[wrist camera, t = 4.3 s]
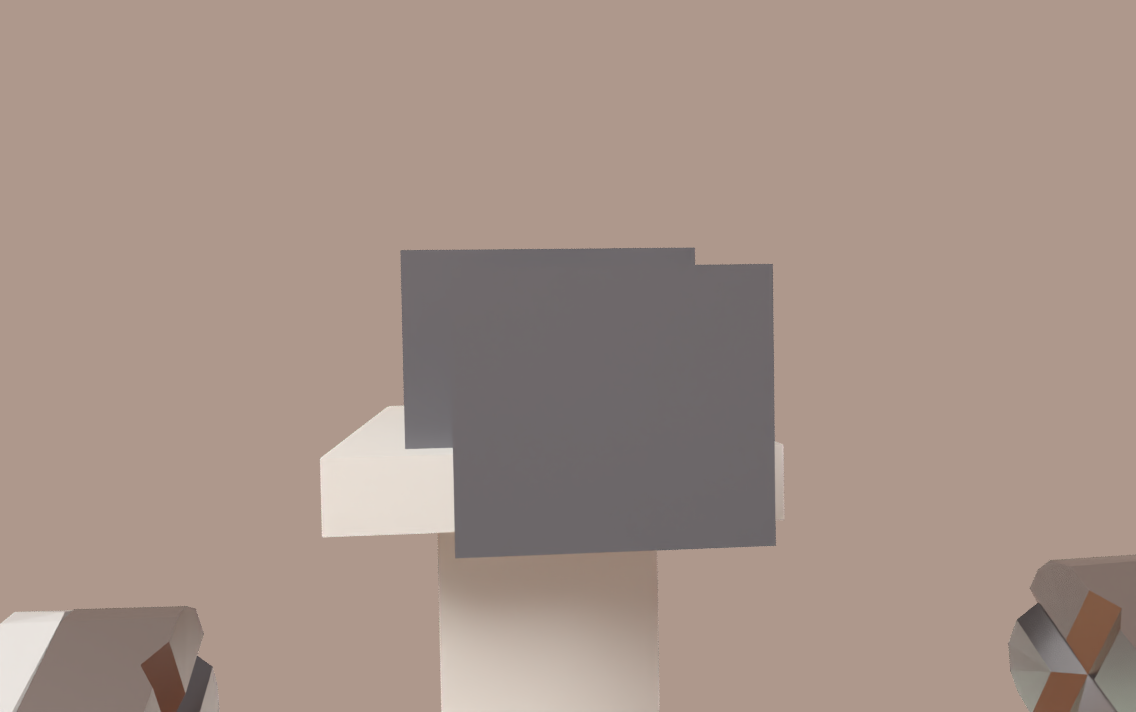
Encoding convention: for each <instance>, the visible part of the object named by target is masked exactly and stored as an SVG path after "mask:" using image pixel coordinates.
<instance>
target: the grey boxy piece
mask: <svg viewBox="0 0 1136 712" xmlns="http://www.w3.org/2000/svg"><path fill="white" fill-rule="evenodd" d="M401 287H402V289H401V290H402V331H403V333H402V334H403V375H404V376H403V379H404V423H405V449H428V448H453V478H454V526H455V558H478V557H503V556H528V555H553V554H578V553H603V552H628V551H653V550H676V549H677V550H678V549H703V548H728V547H751V546H775V545H776V537H775V536H776V531H775V530H776V527H775V437H774V346H773V345H774V342H773V264H742V265H741V264H738V265H695V248H622V249H621V248H619V249H618V248H612V249H505V250H504V249H503V250H502V249H499V250H401Z"/></svg>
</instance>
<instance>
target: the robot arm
mask: <svg viewBox="0 0 1136 712" xmlns="http://www.w3.org/2000/svg"><path fill="white" fill-rule="evenodd" d="M1030 589H1031V591H1032V593H1033V595H1034V597H1035V599H1036V601H1037V602H1038V603H1037V604H1036V605H1035V606H1033V607H1032V608H1031V609H1030V610H1028V611H1027V612H1026V613H1025V614H1023V615H1022V616H1021V617H1020V618H1018V619H1017V621H1016V624H1015V626H1014V629H1013V632H1012V635H1011V638H1010V641H1009V643H1008V645H1009V657H1010V658H1009V659H1010V671H1011V674H1012V676H1013V679H1014V682H1015V685H1016V688H1017V691H1018V693H1019V695H1020V696H1021V698H1022V700H1023V701H1024V703H1025V705H1026V706H1027V708H1028V710H1029V711H1030V712H1136V555H1126V556H1108V557H1093V558H1078V559H1061V560H1050V561H1049V562H1047V563H1046V564H1045V565H1044V566H1042V567H1041V568H1040V569H1038V571H1037V573H1036V575H1035V578H1034V580H1033V582H1032V585H1031V587H1030ZM203 635H204V633H203V630H202V627H201V624H200V621H199V618H198V614H197V611H196V609H195V608H191V607H188V606H180V607H179V606H178V607H143V608H109V609H108V608H106V609H74V610H69V611H38V612H37V611H36V612H35V611H34V612H14V613H13V614H12V615H11V616H9V617H8V618H7V619H6V620H5V621H3V622H2V623H1V624H0V712H219V700H218V689H217V682H216V678H215V674H214V670H213V667H212V666H211V665H209V664H208V663H207V662H205V661H204V660H202V659H201V658H200V657H198V656H197V654H198V651H199V648H200V644H201V641H202V638H203Z"/></svg>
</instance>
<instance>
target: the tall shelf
mask: <svg viewBox="0 0 1136 712" xmlns="http://www.w3.org/2000/svg"><path fill="white" fill-rule="evenodd" d="M783 456H784V455H783V444H780V443H778V442H775V520H784V459H783V458H784V457H783ZM320 470H321V471H320V472H321V513H322V537H338V536H366V535H392V534H416V533H417V534H418V533H438V574H439V620H440V621H439V622H440V664H441V665H440V668H441V712H659V651H658V650H659V648H658V580H657V550H653V551H628V552H603V553H578V554H553V555H528V556H503V557H478V558H455V526H454V478H453V448H428V449H405V423H404V406H388V407H387V408H385V409H384V410H383V411H382V412H380V413H379V414H377V415H376V416H375V417H374V418H372V419H371V420H370V421H368V422H367V423H366V424H364V425H363V426H362V427H360V428H359V429H358V430H357V431H355V432H354V433H353V434H351V435H350V436H349V437H347V438H346V439H345V440H344V441H342V442H341V443H340V444H338V445H337V446H336V447H334V448H333V449H332V450H330V451H329V452H328V453H326V454H325V455H324V456H323V457H321V458H320Z"/></svg>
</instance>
